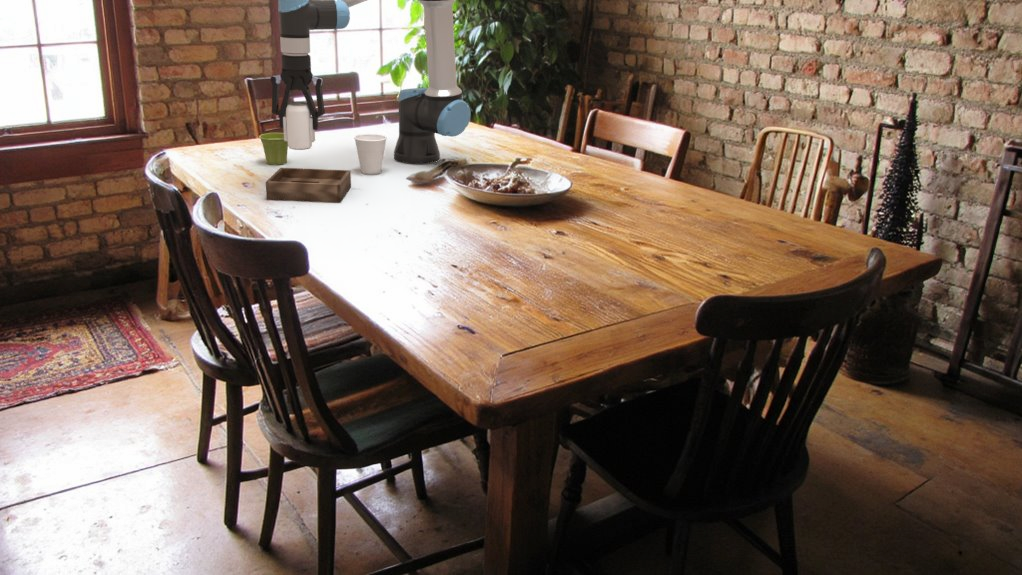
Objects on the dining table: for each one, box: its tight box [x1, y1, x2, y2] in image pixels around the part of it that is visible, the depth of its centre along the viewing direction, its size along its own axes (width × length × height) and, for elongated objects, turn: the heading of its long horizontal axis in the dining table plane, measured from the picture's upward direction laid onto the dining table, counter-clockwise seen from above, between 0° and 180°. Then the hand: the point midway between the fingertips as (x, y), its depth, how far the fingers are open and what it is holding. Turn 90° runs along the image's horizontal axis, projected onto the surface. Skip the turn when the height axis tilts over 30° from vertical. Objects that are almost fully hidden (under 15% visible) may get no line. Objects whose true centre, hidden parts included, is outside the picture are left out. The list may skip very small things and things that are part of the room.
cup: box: [353, 133, 388, 176], centre depth 259 cm, size 10×10×11 cm
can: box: [285, 101, 313, 151], centre depth 229 cm, size 6×6×12 cm
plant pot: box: [258, 132, 289, 166], centre depth 265 cm, size 9×9×9 cm
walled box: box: [265, 167, 352, 204], centre depth 236 cm, size 20×16×5 cm
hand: (299, 140), depth 231 cm, fingers closed on can, 6 cm apart
